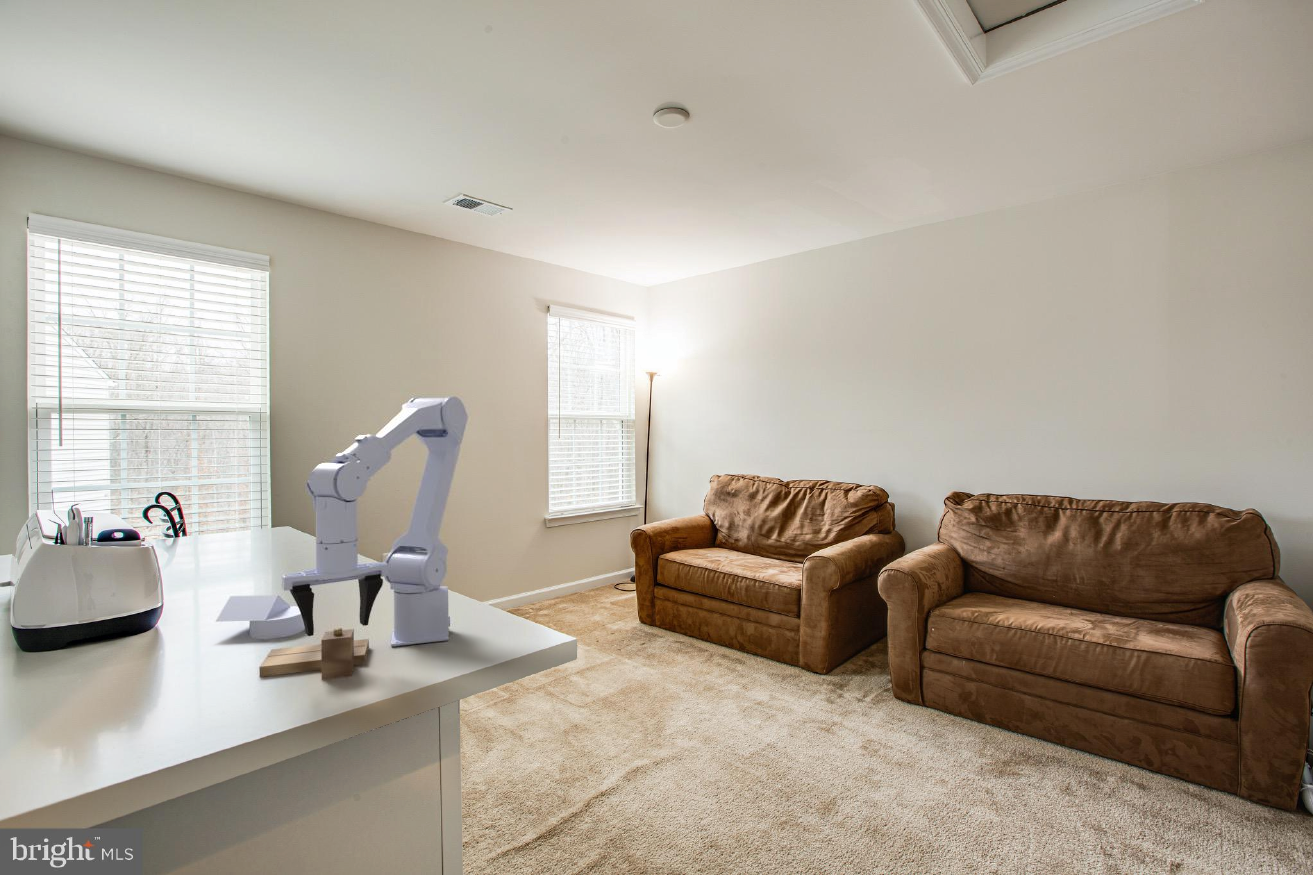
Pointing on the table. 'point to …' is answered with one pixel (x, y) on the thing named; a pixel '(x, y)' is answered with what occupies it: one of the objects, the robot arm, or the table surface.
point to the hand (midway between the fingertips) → (337, 629)
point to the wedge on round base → (264, 615)
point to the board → (304, 658)
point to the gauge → (337, 653)
